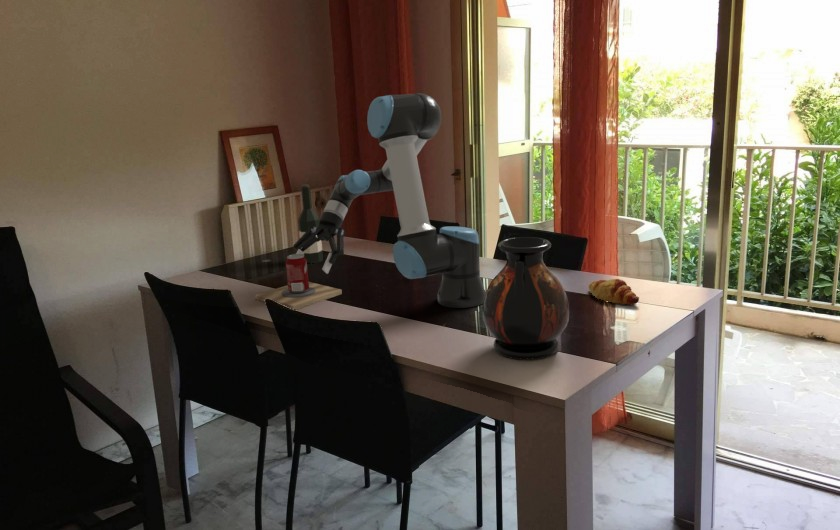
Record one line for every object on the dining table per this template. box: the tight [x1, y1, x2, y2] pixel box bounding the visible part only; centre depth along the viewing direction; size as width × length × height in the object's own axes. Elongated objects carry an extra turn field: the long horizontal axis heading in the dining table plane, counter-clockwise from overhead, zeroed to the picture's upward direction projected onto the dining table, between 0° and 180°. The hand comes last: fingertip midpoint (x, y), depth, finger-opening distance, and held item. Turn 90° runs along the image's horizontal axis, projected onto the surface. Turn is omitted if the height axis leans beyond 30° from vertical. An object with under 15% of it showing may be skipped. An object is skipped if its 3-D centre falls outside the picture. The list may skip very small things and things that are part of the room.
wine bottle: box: [297, 184, 324, 265], centre depth 282 cm, size 8×8×30 cm
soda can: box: [285, 253, 310, 294], centre depth 239 cm, size 7×7×12 cm
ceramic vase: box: [481, 236, 570, 361], centre depth 182 cm, size 22×22×28 cm
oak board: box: [255, 281, 343, 310], centre depth 240 cm, size 20×20×2 cm
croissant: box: [588, 278, 640, 306], centre depth 220 cm, size 21×10×8 cm, turn 28°
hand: (309, 269), depth 244 cm, fingers open, 13 cm apart
